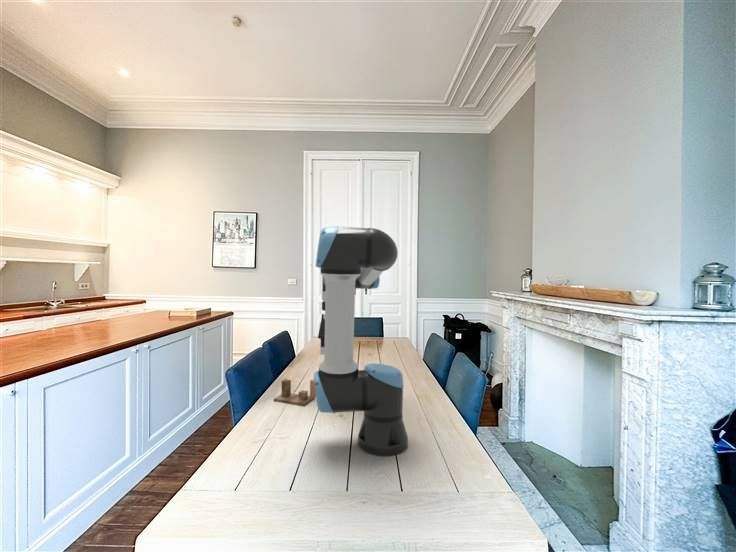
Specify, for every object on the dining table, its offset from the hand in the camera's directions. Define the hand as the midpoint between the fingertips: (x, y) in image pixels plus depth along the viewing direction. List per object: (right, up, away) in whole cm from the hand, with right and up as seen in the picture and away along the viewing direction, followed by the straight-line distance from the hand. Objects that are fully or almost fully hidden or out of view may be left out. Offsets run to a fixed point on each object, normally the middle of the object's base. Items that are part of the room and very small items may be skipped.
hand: (330, 350), depth 147 cm
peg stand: (-13, -18, -8) cm, 24 cm away
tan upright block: (-5, -18, -2) cm, 19 cm away
